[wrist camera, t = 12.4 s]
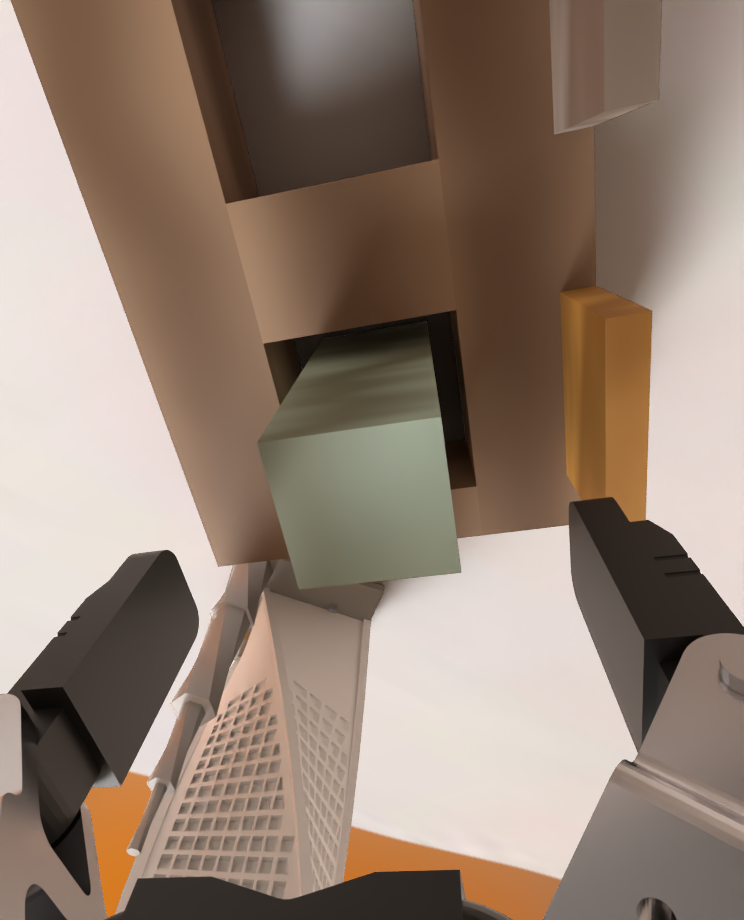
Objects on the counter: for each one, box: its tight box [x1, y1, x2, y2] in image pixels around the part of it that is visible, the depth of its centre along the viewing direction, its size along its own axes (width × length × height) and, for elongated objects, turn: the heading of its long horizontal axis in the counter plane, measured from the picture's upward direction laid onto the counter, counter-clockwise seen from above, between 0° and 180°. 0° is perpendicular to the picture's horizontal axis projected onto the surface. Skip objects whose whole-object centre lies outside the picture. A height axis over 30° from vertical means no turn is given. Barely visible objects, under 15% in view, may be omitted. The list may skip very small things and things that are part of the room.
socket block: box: [11, 0, 662, 567], centre depth 16 cm, size 14×20×8 cm
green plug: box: [257, 321, 461, 590], centre depth 17 cm, size 4×4×10 cm
